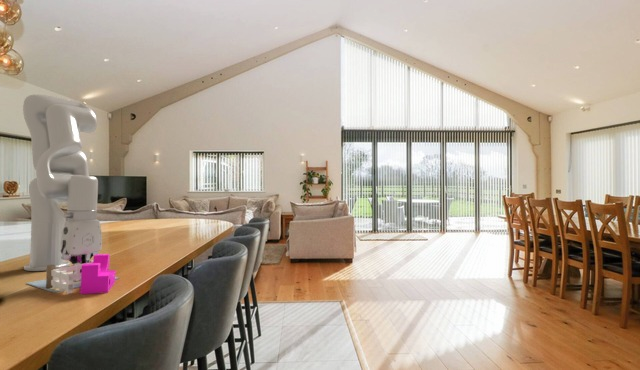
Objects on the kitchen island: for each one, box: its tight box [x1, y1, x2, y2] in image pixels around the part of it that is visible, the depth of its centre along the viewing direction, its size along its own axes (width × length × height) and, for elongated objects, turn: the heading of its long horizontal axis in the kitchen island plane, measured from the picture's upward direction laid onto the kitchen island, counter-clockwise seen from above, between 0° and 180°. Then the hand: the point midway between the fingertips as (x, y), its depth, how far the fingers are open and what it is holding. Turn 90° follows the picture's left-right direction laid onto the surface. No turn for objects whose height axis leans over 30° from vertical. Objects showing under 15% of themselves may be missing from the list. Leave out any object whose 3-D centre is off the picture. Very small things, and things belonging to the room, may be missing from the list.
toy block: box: [79, 253, 116, 295], centre depth 100 cm, size 15×6×8 cm, turn 21°
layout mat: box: [25, 276, 120, 294], centre depth 105 cm, size 16×18×1 cm
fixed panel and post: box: [45, 265, 74, 294], centre depth 95 cm, size 11×2×6 cm, turn 61°
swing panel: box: [57, 260, 93, 281], centre depth 103 cm, size 10×1×5 cm, turn 155°
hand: (80, 276), depth 106 cm, fingers closed
